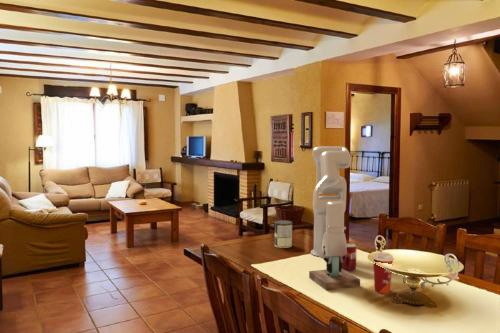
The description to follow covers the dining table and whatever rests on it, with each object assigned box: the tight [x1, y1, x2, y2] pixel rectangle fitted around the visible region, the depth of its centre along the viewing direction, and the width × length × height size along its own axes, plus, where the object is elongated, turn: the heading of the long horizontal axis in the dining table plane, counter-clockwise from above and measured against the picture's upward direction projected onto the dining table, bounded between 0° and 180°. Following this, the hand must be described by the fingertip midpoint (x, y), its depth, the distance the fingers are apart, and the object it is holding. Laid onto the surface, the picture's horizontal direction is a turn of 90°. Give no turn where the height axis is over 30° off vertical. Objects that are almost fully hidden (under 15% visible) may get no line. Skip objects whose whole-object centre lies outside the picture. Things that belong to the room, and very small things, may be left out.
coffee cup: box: [372, 252, 395, 294], centre depth 168 cm, size 8×8×15 cm
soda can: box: [342, 242, 358, 273], centre depth 195 cm, size 7×7×12 cm
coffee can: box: [274, 219, 293, 249], centre depth 238 cm, size 10×10×14 cm
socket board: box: [308, 268, 361, 291], centre depth 178 cm, size 16×16×3 cm
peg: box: [329, 256, 339, 278], centre depth 178 cm, size 4×4×10 cm
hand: (334, 271), depth 178 cm, fingers closed on peg, 4 cm apart
